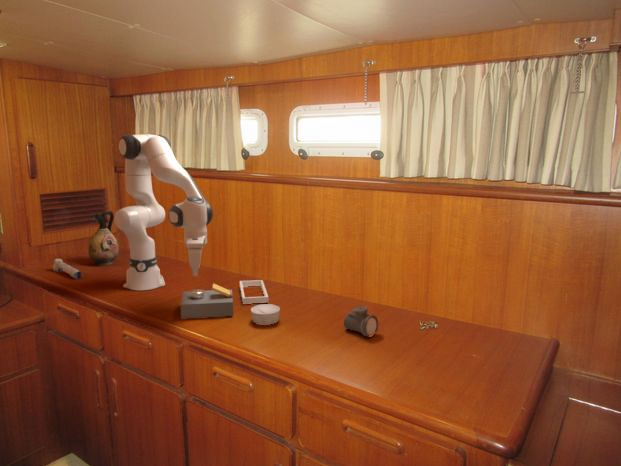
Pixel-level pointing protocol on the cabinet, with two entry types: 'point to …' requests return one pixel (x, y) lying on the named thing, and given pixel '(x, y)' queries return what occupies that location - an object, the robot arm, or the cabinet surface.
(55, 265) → the beige knobbed rod
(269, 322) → the ramekin
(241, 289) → the rectangular frame
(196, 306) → the hitch block
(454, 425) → the cabinet surface
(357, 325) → the pipe fitting
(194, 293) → the steel peg
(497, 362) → the cabinet surface
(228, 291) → the yellow rectangular slab
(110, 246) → the ceramic jug
